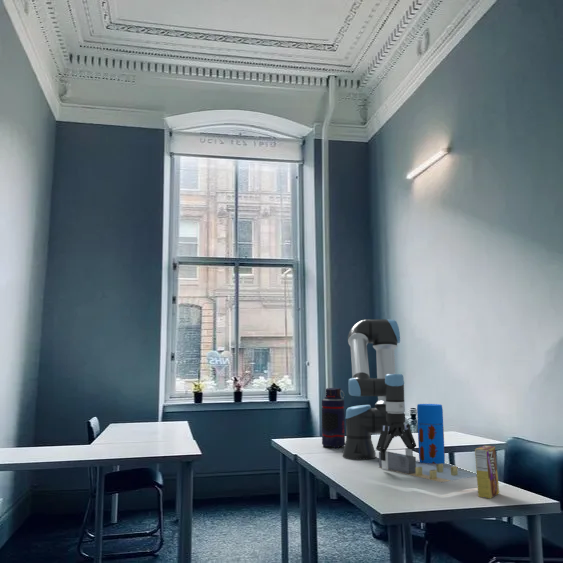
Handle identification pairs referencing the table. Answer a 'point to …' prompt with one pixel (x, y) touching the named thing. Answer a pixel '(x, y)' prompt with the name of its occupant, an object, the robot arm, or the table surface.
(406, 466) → the bar
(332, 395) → the dark blue bottle
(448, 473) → the door board
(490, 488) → the candy box
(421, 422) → the red-spotted blue pillar
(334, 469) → the table surface
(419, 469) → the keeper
